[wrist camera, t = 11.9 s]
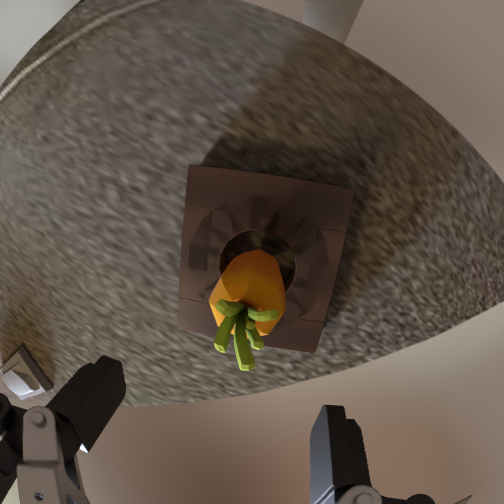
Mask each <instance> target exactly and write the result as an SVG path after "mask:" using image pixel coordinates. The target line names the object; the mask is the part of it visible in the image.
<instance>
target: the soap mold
mask: <svg viewBox="0 0 504 504" xmlns="http://www.w3.org/2000/svg"><path fill="white" fill-rule="evenodd" d="M0 373H1V374H2V376H1V377H2V378H3V380H4V382H5V383H6V385H7V386H8V388H9V389H11V390H12V391H13V392H14V393H16V395H17V396H18V397H19V398H20V400H22V399H25V398H28V397H32V396H35V395H38V394H41V393H44V392H46V391H48V390H51V389H53V386H52V385H51V384H50V383H49V381H48V380H47V379H46V378H45V376H44V375H43V374H42V372H41V371H40V370H39V368H38V367H37V366H36V364H35V363H34V362H33V360H32V359H31V357H30V356H29V354H28V353H27V352H26V350H25V349H24V347H23V346H22V347H21V348H20V349H19V350H18V351H17V352H16V353H15V354H14V355H13V356H11V357H10V358H9V359H8V360H7V361H6V362H5V363H4V364H3V365H2V367H1V368H0Z"/></svg>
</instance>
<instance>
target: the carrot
mask: <svg viewBox="0 0 504 504" xmlns="http://www.w3.org/2000/svg"><path fill="white" fill-rule="evenodd" d="M209 303H210V306H211V309H212V312H213V314H214V317H215V320H216V322H217V325H218V327H219V329H218V332H217V334H216V338H215V341H214V345H215V348H216V349H217V350H219V351H220V352H223V353H226V350H227V346H228V343H229V339H230V335H231V334H233V335H234V346H235V351H236V356H237V360H238V363H239V367H240V370H246V371H248V370H251V369H254V368H255V362H254V358H253V355H252V351H251V348H250V345H249V342H248V339H247V338H249V340H250V342H251V344H252V347H253V348H254V349H257V350H259V349H262V348H263V347H264V343H263V340H262V338H261V336H263V335H269V333H270V332H271V330H272V329H273V328H274V326H275V325H276V324H277V322H278V321H279V319H280V318H281V317H282V315H283V314H284V312H285V310H286V301H285V290H284V284H283V280H282V276H281V273H280V269H279V265H278V263H277V261H276V259H275V258H274V257H273V256H272V255H270V254H268V253H266V252H265V251H263V250H261V249H257V250H253V251H249V252H245V253H242V254H240V255H238V256H237V257H235V258H234V259H233V260H232V261H231V263H230V264H229V265H228V266H227V268H226V269H225V271H224V272H223V274H222V276H221V277H220V279H219V281H218V283H217V285H216V286H215V288H214V290H213V292H212V294H211V295H210V297H209Z"/></svg>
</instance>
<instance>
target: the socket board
mask: <svg viewBox="0 0 504 504" xmlns="http://www.w3.org/2000/svg"><path fill="white" fill-rule="evenodd" d="M354 191H355V190H354V189H350V188H346V187H342V186H337V185H332V184H326V183H321V182H316V181H310V180H305V179H299V178H293V177H287V176H280V175H274V174H267V173H260V172H253V171H245V170H237V169H229V168H220V167H211V166H201V165H189V168H188V177H187V186H186V196H185V207H184V219H183V231H182V246H181V263H180V284H179V319H178V328H179V329H183V330H187V331H191V332H196V333H200V334H205V335H209V336H214V337H216V334H217V332H218V329H219V327H218V325H217V322H216V320H215V317H214V314H213V312H212V309H211V306H210V303H209V297H210V295H211V294H212V292H213V290H214V288H215V286H216V285H217V283H218V281H219V279H220V277H221V276H222V274H223V272H224V271H225V269H226V268H227V266H228V263H227V259H226V255H227V247H228V244H229V242H230V241H231V239H232V238H234V237H235V236H237V235H238V234H239V233H242V232H246V231H250V230H254V229H257V230H263V231H269V232H272V233H274V234H275V235H277V236H279V237H280V238H282V239H283V240H285V242H286V243H287V244H288V246H289V247H290V249H291V250H292V251H293V254H294V258H295V261H294V267H293V270H292V272H291V273H290V275H289V276H288V278H287V279H286V280H285V281H284V282H283V284H284V290H285V301H286V310H285V312H284V314H283V315H282V317H281V318H280V319H279V321H278V322H277V324H276V325H275V326H274V328H273V329H272V330H271V332H270V333H269V335H263V336H261V338H262V340H263V343H264V346H269V347H275V348H281V349H288V350H295V351H303V352H311V353H315V352H316V349H317V345H318V342H319V339H320V336H321V332H322V329H323V325H324V321H325V318H326V315H327V311H328V307H329V304H330V300H331V296H332V292H333V289H334V285H335V281H336V277H337V273H338V269H339V264H340V260H341V256H342V251H343V247H344V242H345V238H346V232H347V228H348V223H349V218H350V213H351V208H352V203H353V197H354ZM247 339H248V342H249V343H251V342H250V340H249V338H247ZM229 340H234V335H233V334H231V335H230V339H229Z"/></svg>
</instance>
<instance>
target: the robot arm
mask: <svg viewBox="0 0 504 504" xmlns="http://www.w3.org/2000/svg"><path fill="white" fill-rule="evenodd" d="M125 393H126V384H125V379H124V374H123V368H122V363H121V362H120V361H119V360H116V359H113V358H110V357H108V356H105V355H103V356H101V357H100V358H99V359H98V360H97V362H96V363H95V364H93V363H89V364H87V365H85V366H83V367H81V368H80V369H79V370H78V371H77V372H76V373H75V374H74V375H73V377H72V378H71V379H70V380H69V381H68V383H66V384H65V385H64V386H63V387H62V389H61V390H60V391H59V392H58V393H57V394H56V395H55V396H54V398H53V399H52V400H51V401H50V402H49V403H48V404H47V405H46V406H45V407H43V406H35V407H32V408H30V409H28V410H26V409H23V408H20V407H16V406H13V405H11V403H10V401H9V400H8V398H7V397H6V396H5V395H4V394H2V393H0V436H2V440H1V441H0V504H2V502H3V500H4V498H5V496H6V495H7V493H8V491H9V490H10V488H11V486H12V485H13V483H14V481H15V480H16V478H17V480H18V489H19V498H20V504H90V502H89V500H88V498H87V496H86V494H85V491H84V487H83V483H82V479H81V474H80V470H79V464H78V459H77V455H76V453H77V451H78V450H79V449H81V450H83V451H85V452H87V453H89V451H90V449H91V448H92V446H93V445H94V443H95V442H96V440H97V438H98V437H99V436H100V434H101V432H102V431H103V429H104V428H105V426H106V425H107V423H108V422H109V420H110V419H111V417H112V416H113V414H114V413H115V411H116V409H117V408H118V406H119V405H120V403H121V402H122V400H123V399H124V396H125ZM364 449H365V448H364V443H363V437H362V432H361V428H360V427H359V426H358V424H357V423H356V421H355V420H354V419H346V414H345V409H344V407H343V406H337V405H323V407H322V409H321V411H320V413H319V415H318V417H317V419H316V422H315V423H314V425H313V428H312V431H311V436H310V469H311V471H310V472H311V499H310V501H311V503H310V504H435V502H434V501H433V499H431V498H430V497H429V496H427V495H425V494H416V495H413V496H411V497H410V498H408V499H407V500H402V499H395V498H388V497H384V496H381V495H380V494H379V492H378V491H377V490H376V489H374V488H373V487H372V485H371V482H370V476H369V470H368V464H367V458H366V453H365V451H364Z"/></svg>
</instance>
